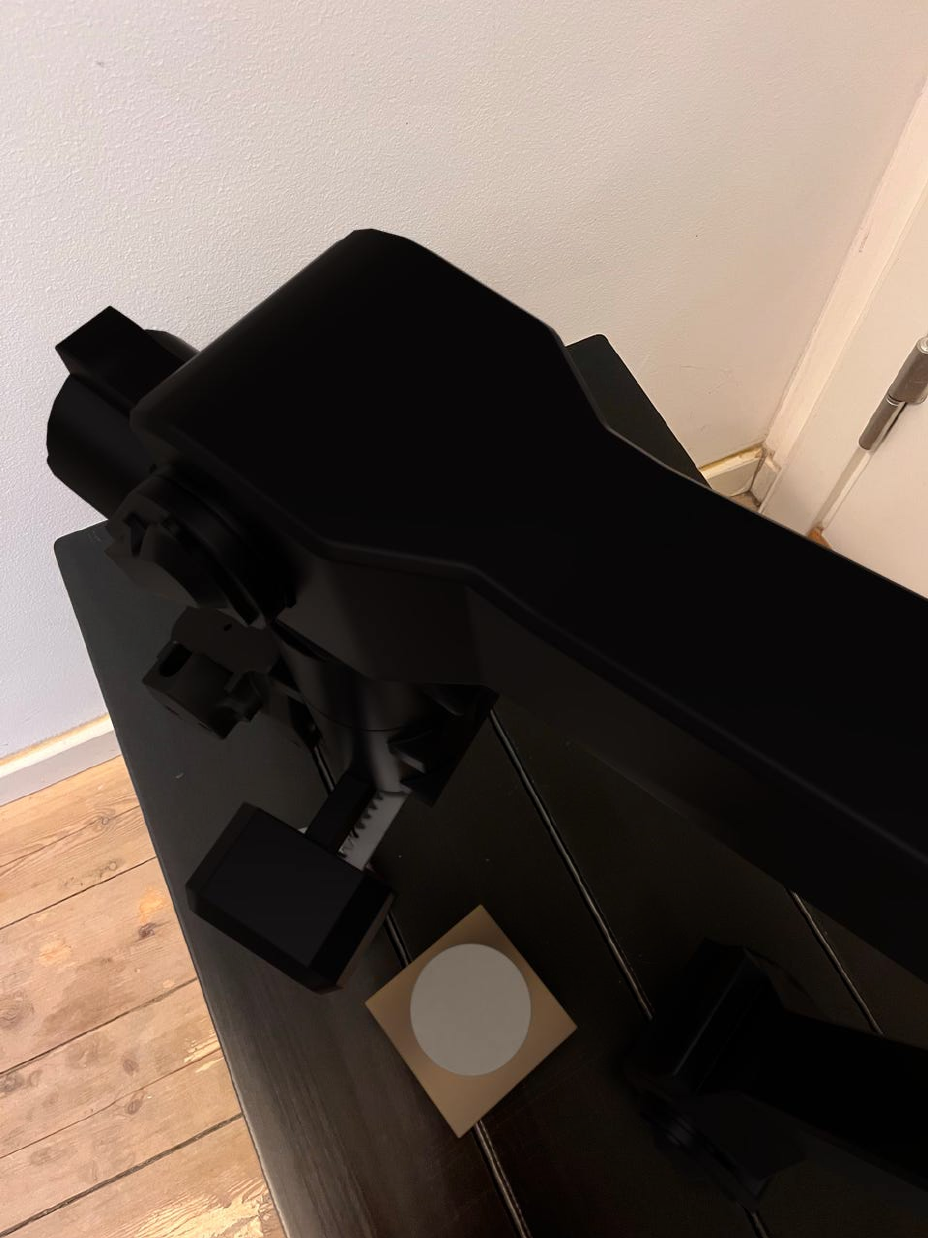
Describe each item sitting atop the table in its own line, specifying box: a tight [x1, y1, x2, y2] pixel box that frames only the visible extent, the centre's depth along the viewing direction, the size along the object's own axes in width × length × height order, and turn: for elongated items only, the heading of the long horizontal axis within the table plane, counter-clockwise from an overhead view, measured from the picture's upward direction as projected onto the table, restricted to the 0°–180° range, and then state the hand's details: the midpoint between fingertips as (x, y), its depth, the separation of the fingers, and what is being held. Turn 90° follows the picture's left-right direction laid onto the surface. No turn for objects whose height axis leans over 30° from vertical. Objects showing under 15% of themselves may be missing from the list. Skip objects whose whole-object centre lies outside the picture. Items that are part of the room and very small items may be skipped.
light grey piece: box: [410, 943, 532, 1076], centre depth 37 cm, size 5×5×8 cm
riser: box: [364, 904, 578, 1139], centre depth 44 cm, size 7×7×9 cm
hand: (416, 785), depth 40 cm, fingers open, 9 cm apart
